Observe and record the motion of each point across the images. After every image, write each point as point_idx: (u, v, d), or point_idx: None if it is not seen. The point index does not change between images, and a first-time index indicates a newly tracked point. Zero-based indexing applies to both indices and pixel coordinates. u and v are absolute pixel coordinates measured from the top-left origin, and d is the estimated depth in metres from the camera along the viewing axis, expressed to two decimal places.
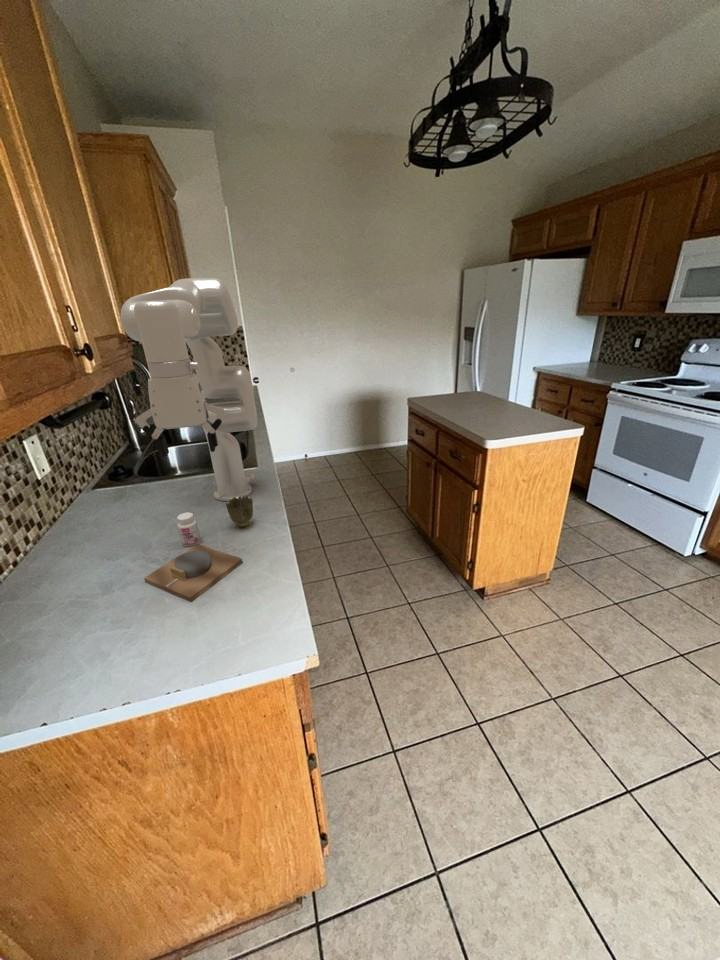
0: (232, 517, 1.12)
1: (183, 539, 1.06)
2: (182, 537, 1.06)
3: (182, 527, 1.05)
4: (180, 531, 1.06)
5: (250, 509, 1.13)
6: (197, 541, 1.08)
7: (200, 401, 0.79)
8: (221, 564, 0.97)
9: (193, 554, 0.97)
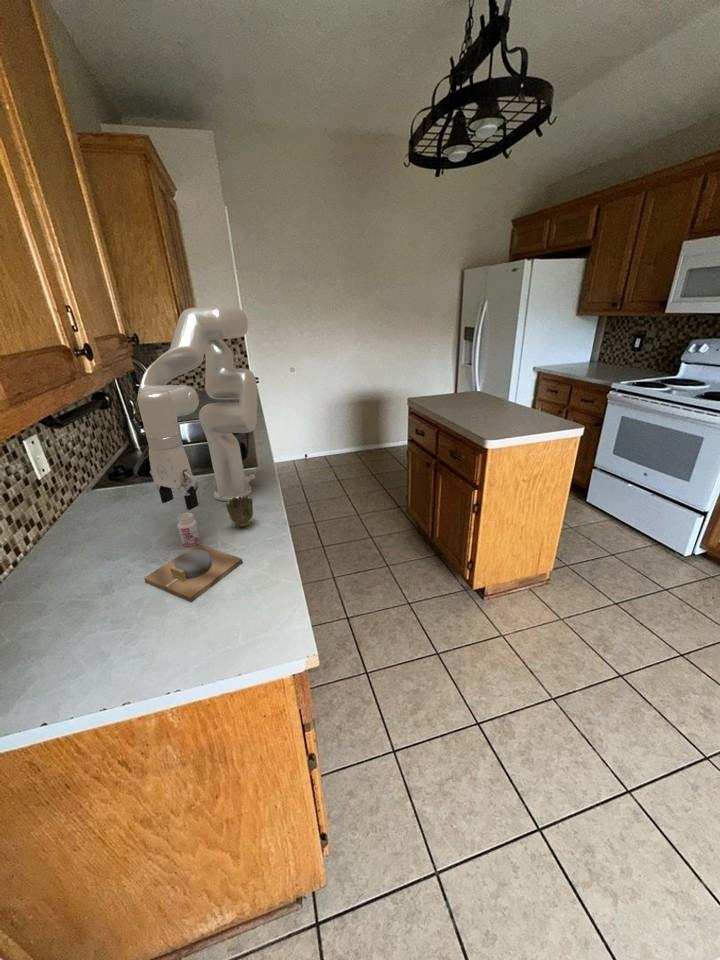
0: (232, 517, 1.12)
1: (183, 539, 1.06)
2: (182, 537, 1.06)
3: (182, 527, 1.05)
4: (180, 531, 1.06)
5: (250, 509, 1.13)
6: (197, 541, 1.08)
7: None
8: (221, 564, 0.97)
9: (193, 554, 0.97)
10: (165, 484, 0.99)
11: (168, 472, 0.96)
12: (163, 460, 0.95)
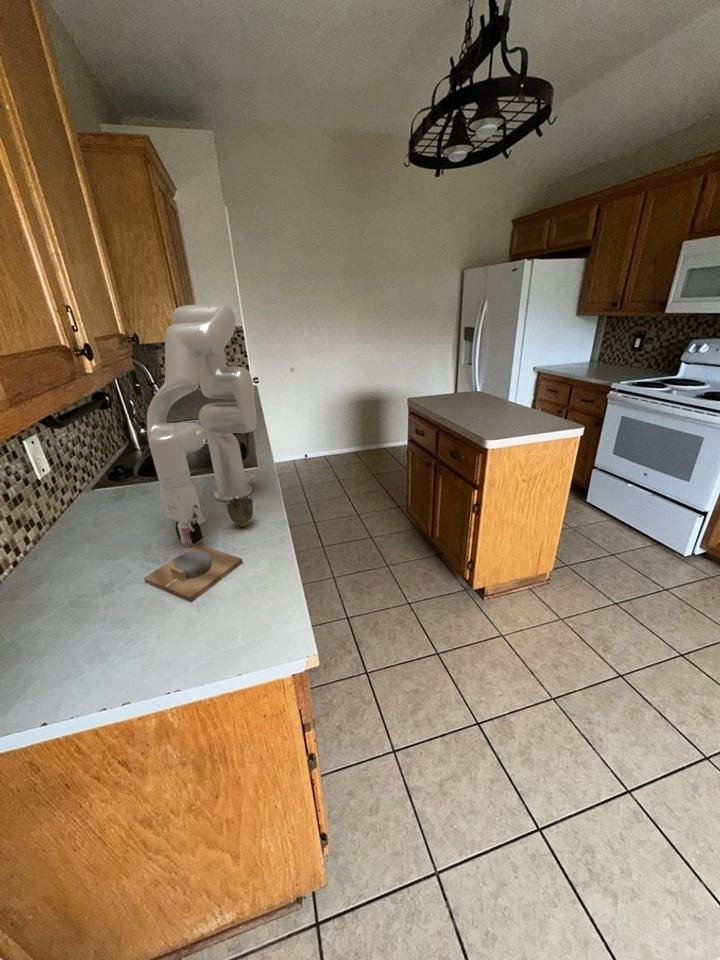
0: (232, 517, 1.12)
1: (183, 539, 1.06)
2: (182, 537, 1.06)
3: (182, 526, 1.05)
4: (180, 531, 1.06)
5: (250, 509, 1.13)
6: None
7: None
8: (221, 564, 0.97)
9: (193, 554, 0.97)
10: (176, 518, 1.03)
11: (178, 508, 1.01)
12: (174, 497, 1.00)
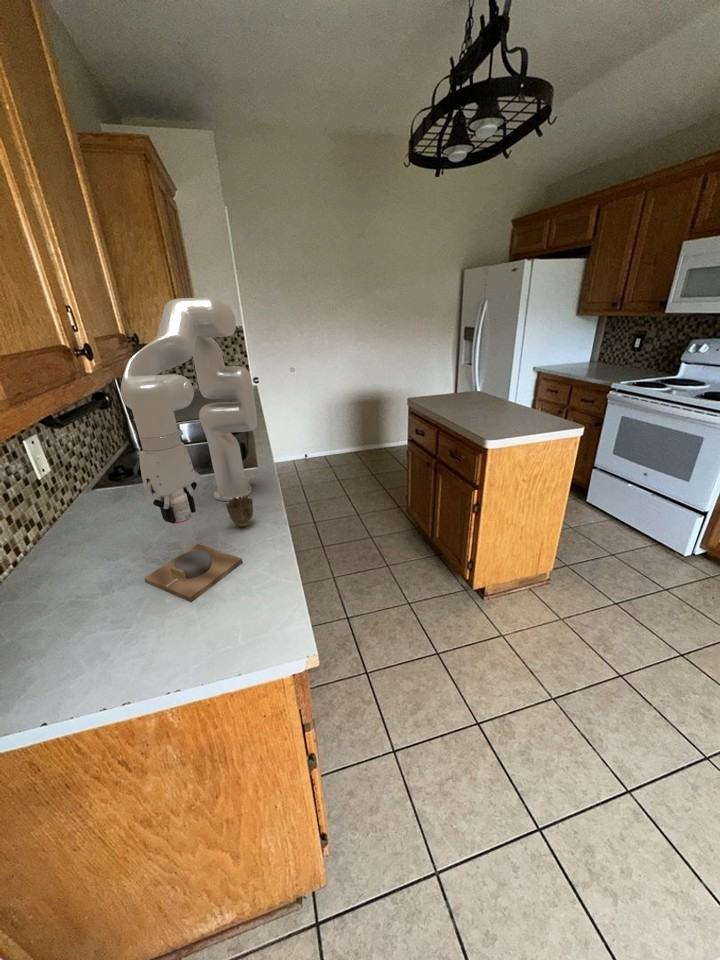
0: (232, 517, 1.12)
1: None
2: None
3: None
4: None
5: (250, 509, 1.13)
6: None
7: (191, 462, 0.89)
8: (221, 564, 0.97)
9: (193, 554, 0.97)
10: None
11: None
12: None
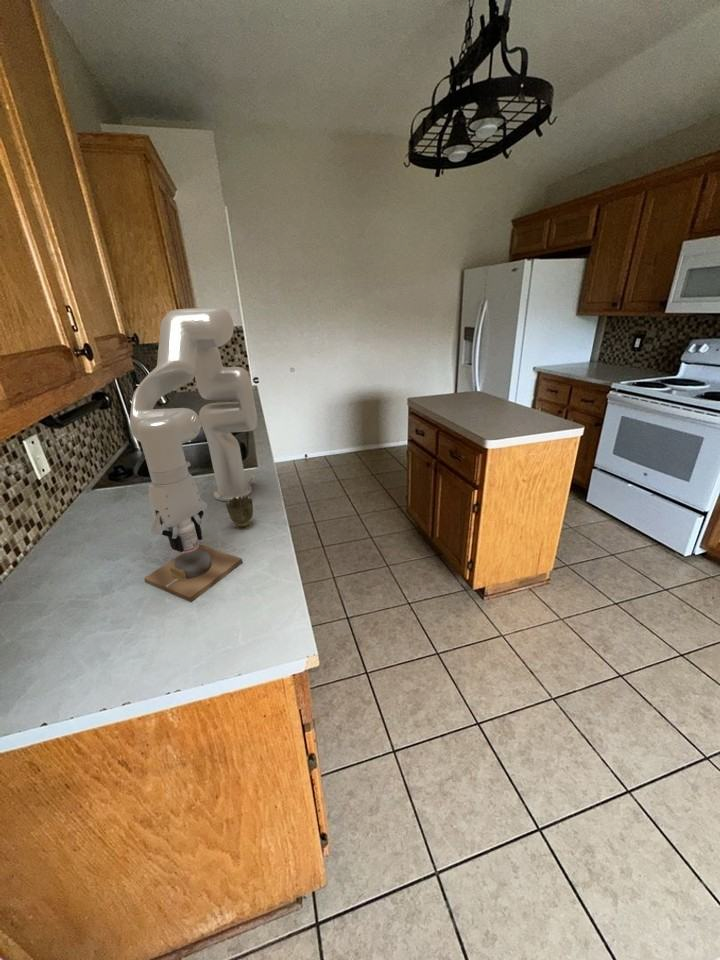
0: (232, 517, 1.12)
1: None
2: None
3: None
4: None
5: (250, 509, 1.13)
6: None
7: (198, 492, 0.91)
8: (221, 564, 0.97)
9: (193, 554, 0.97)
10: None
11: None
12: None
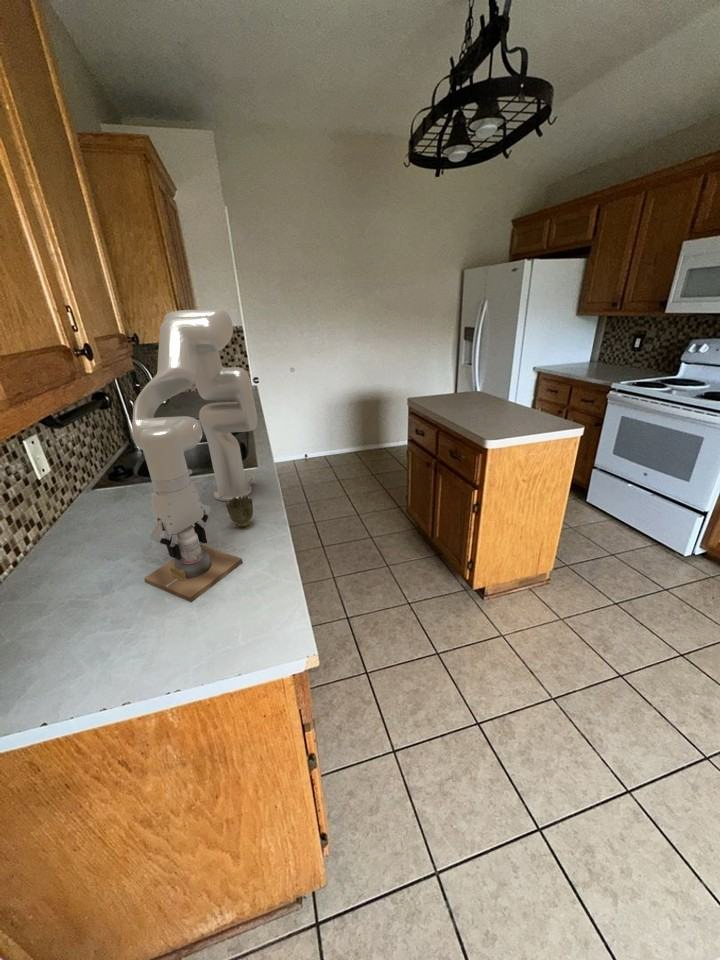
0: (232, 517, 1.12)
1: None
2: None
3: None
4: None
5: (250, 509, 1.13)
6: (184, 561, 0.93)
7: None
8: (221, 564, 0.97)
9: None
10: None
11: None
12: None
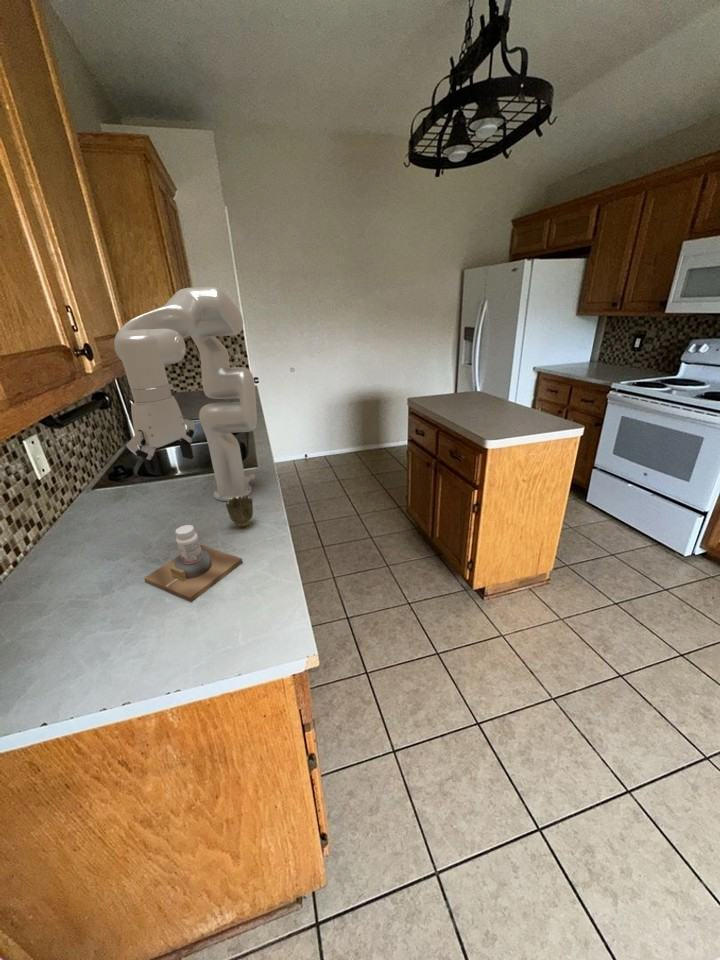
0: (232, 517, 1.12)
1: None
2: None
3: None
4: None
5: (250, 509, 1.13)
6: (184, 561, 0.93)
7: (182, 416, 0.91)
8: (221, 564, 0.97)
9: None
10: None
11: None
12: None
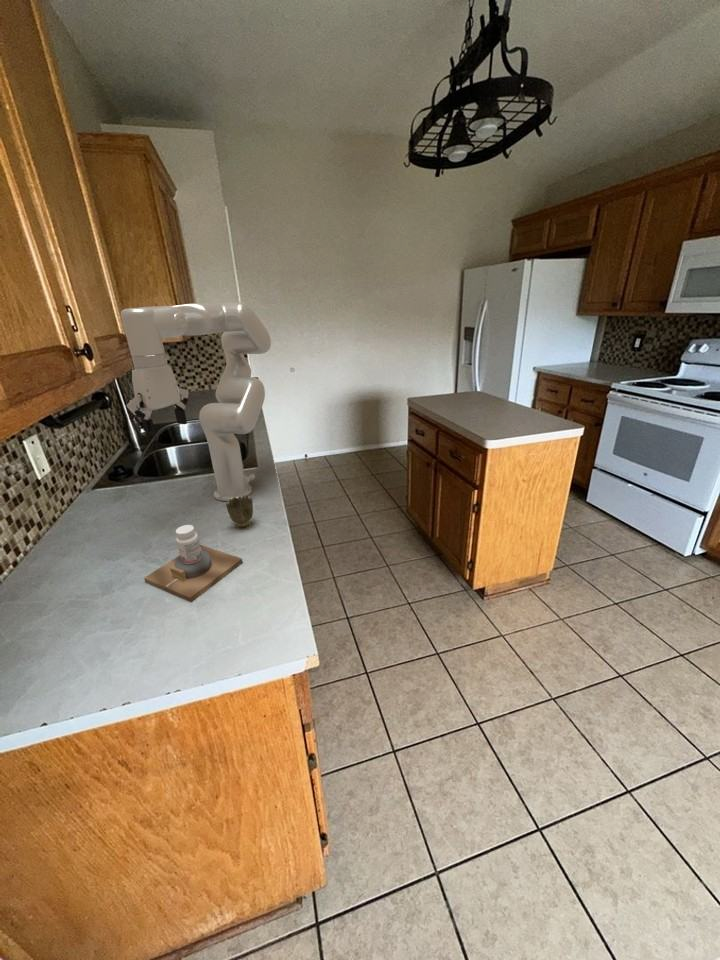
0: (232, 517, 1.12)
1: None
2: None
3: None
4: None
5: (250, 509, 1.13)
6: (184, 561, 0.93)
7: (176, 384, 1.03)
8: (221, 564, 0.97)
9: None
10: None
11: None
12: None
